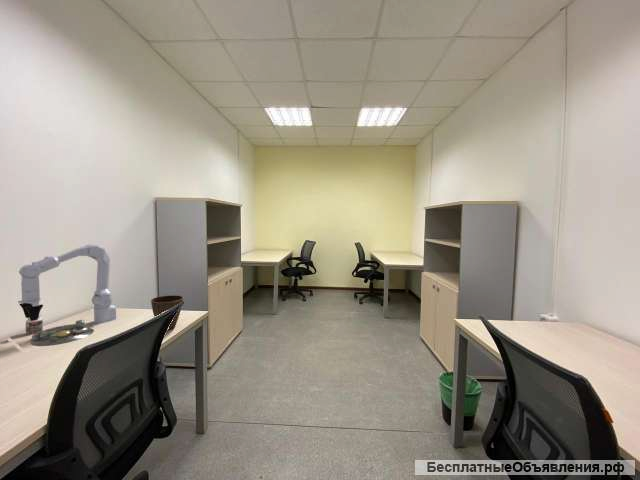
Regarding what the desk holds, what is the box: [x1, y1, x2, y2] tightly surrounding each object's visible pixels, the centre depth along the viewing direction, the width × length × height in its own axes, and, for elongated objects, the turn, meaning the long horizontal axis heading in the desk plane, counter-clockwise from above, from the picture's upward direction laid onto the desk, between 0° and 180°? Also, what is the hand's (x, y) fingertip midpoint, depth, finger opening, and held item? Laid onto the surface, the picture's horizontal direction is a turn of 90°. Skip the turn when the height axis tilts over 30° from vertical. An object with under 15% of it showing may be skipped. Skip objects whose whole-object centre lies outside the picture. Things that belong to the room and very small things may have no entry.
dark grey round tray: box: [30, 323, 95, 347], centre depth 129 cm, size 22×22×3 cm
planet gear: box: [73, 319, 89, 334], centre depth 134 cm, size 6×6×6 cm
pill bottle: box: [25, 312, 44, 336], centre depth 133 cm, size 6×6×10 cm
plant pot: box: [150, 294, 184, 331], centre depth 144 cm, size 15×15×16 cm
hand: (31, 318), depth 126 cm, fingers open, 7 cm apart
